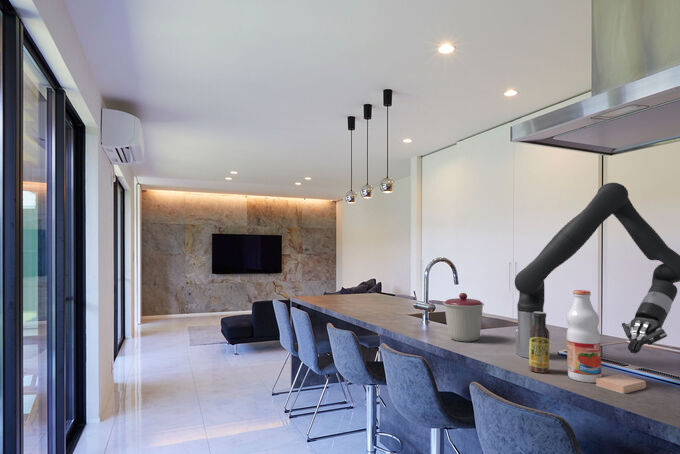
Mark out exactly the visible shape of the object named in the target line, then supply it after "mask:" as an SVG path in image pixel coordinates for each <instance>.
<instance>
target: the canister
mask: <svg viewBox="0 0 680 454" xmlns="http://www.w3.org/2000/svg"><path fill="white" fill-rule="evenodd" d="M458 297H459V298H449V299H446V300H445V301H443V303H442V305H444V311H445V320H446V326H447V332H448V336H449V338H450V339H452V340H453V341H457V342H467V343H468V342H475V341H477V340H479V338H480V336H481V328H482V318H483V308H484V305H485V304H484V302H482V301H481V300H479V299H474V298H468V294H467V293H466V292H461V293H459V295H458Z"/></svg>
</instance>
